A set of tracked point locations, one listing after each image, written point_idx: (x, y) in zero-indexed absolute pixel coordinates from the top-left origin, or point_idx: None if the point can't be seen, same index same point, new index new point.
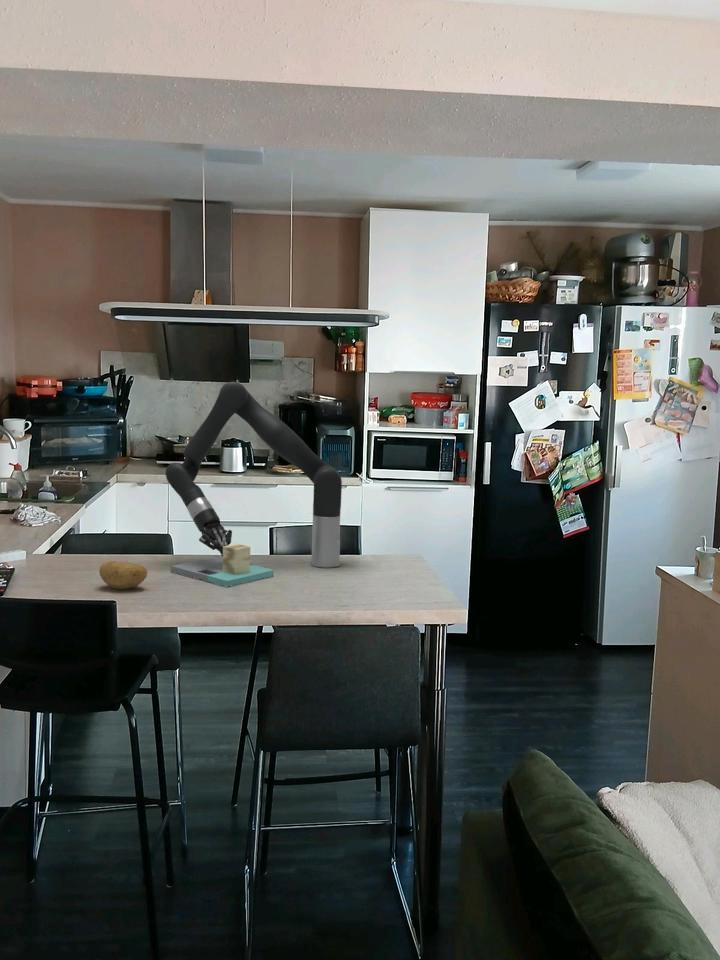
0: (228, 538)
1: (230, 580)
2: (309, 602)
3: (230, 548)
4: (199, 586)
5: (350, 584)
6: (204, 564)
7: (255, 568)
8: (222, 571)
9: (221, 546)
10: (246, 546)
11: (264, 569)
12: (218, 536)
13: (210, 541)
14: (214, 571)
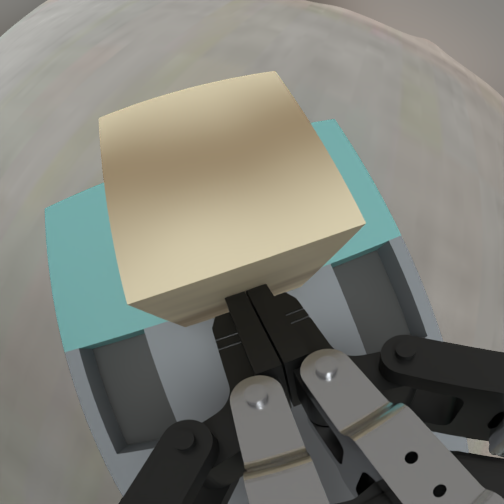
0: (175, 494)
1: (317, 122)
2: (178, 4)
3: (308, 124)
4: (421, 196)
5: (4, 90)
6: (331, 484)
7: (89, 274)
8: (301, 286)
9: (334, 354)
10: (117, 135)
11: (66, 235)
12: (400, 462)
13: (486, 352)
14: (345, 304)
